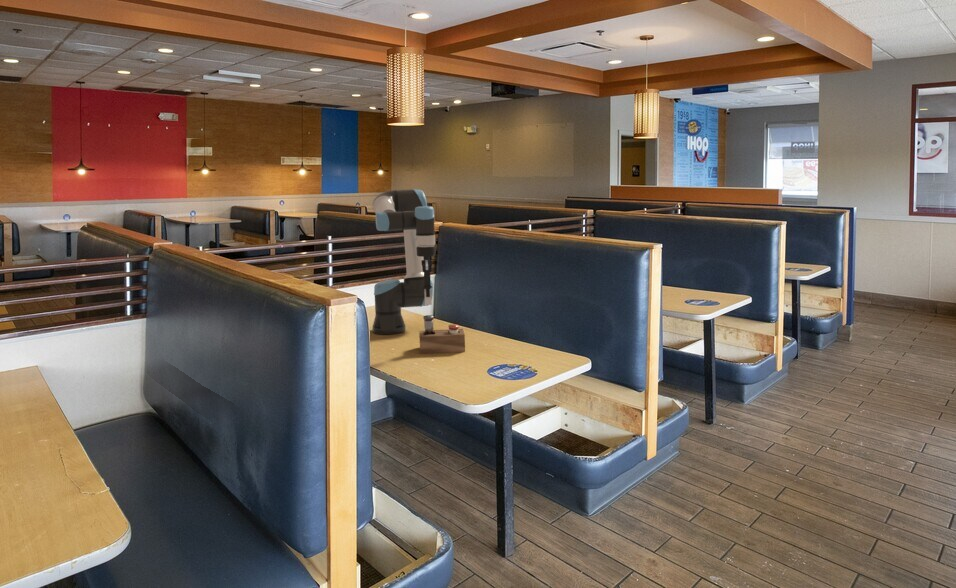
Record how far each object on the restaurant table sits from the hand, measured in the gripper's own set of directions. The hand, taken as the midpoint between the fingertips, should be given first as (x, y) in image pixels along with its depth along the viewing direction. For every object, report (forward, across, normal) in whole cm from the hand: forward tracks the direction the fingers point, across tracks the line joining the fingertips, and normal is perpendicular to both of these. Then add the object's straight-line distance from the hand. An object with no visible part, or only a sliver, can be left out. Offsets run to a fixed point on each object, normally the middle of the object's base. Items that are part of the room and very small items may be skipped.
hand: (428, 304), depth 261 cm
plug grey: (+13, 0, 0) cm, 13 cm away
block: (+19, 0, +5) cm, 20 cm away
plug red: (+17, 0, +10) cm, 20 cm away
